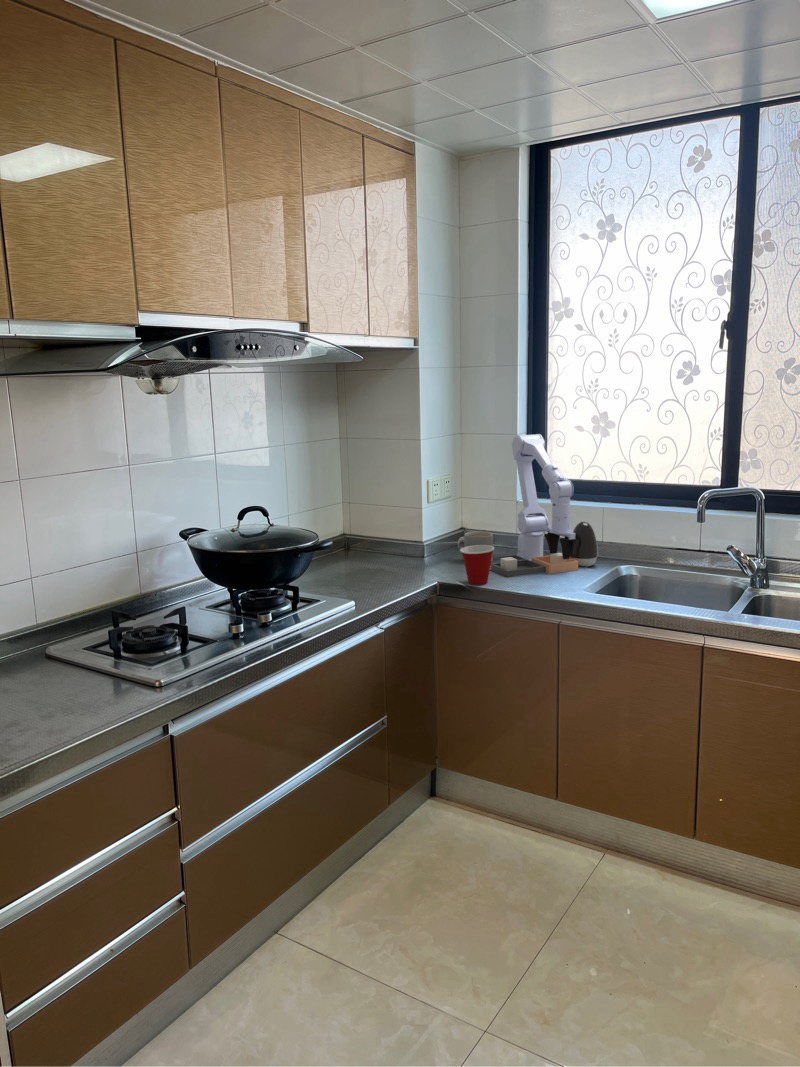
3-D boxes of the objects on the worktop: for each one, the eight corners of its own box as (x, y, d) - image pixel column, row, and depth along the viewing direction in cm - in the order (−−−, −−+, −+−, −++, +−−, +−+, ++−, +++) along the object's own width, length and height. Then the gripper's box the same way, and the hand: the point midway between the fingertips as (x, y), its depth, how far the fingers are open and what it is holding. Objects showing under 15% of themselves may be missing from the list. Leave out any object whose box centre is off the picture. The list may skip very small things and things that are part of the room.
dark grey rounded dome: (595, 561, 280) (596, 519, 277) (599, 569, 270) (601, 524, 267) (565, 561, 281) (566, 519, 278) (569, 568, 271) (570, 524, 268)
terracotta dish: (531, 567, 273) (531, 557, 272) (559, 564, 277) (559, 554, 276) (549, 575, 263) (549, 564, 262) (578, 571, 267) (578, 561, 266)
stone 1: (500, 571, 267) (500, 558, 266) (510, 570, 268) (510, 557, 267) (506, 574, 263) (506, 560, 262) (516, 572, 264) (517, 559, 264)
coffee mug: (498, 561, 282) (498, 534, 280) (478, 566, 276) (478, 538, 274) (471, 555, 292) (471, 528, 290) (451, 560, 286) (451, 532, 284)
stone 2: (549, 566, 271) (550, 553, 271) (559, 565, 273) (560, 552, 272) (556, 569, 268) (556, 556, 267) (566, 568, 269) (566, 555, 268)
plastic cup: (462, 579, 260) (462, 543, 257) (495, 580, 258) (495, 544, 255) (457, 588, 249) (457, 550, 247) (492, 589, 247) (492, 551, 245)
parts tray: (490, 571, 269) (490, 563, 269) (527, 566, 275) (527, 559, 274) (507, 579, 259) (507, 571, 259) (545, 574, 264) (545, 566, 264)
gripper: (538, 514, 272) (537, 553, 275) (562, 521, 259) (561, 562, 262) (556, 512, 275) (555, 551, 278) (581, 519, 262) (579, 559, 264)
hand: (559, 556), depth 270 cm, fingers open, 7 cm apart
